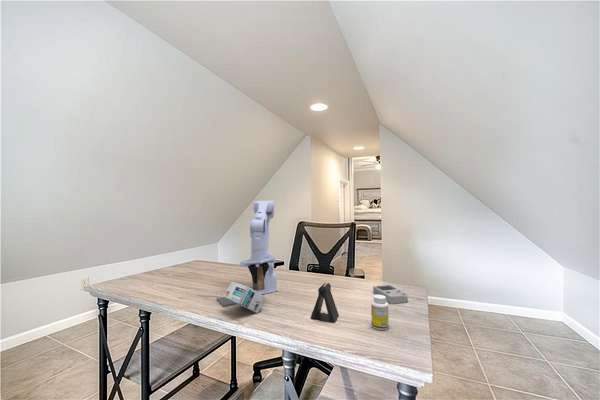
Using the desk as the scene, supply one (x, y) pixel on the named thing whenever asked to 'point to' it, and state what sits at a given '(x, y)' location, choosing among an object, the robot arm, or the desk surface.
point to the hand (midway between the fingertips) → (258, 282)
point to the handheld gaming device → (391, 294)
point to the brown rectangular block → (259, 280)
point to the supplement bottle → (380, 312)
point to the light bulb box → (244, 296)
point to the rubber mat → (225, 301)
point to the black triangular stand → (330, 305)
